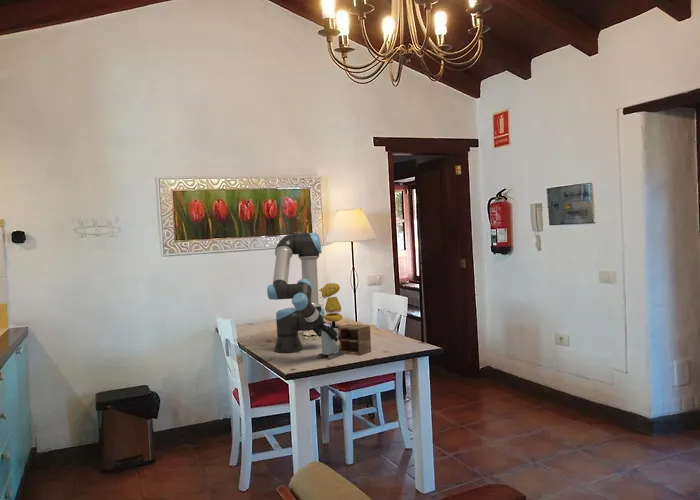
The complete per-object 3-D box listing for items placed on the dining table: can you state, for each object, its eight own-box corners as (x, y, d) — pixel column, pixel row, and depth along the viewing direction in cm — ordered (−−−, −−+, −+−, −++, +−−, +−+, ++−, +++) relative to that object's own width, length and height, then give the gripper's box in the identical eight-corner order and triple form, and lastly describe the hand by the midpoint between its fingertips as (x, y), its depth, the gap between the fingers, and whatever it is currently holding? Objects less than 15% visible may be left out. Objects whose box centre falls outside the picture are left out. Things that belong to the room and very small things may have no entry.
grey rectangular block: (322, 354, 295) (321, 330, 295) (332, 350, 303) (331, 328, 302) (328, 354, 293) (327, 331, 293) (339, 351, 300) (337, 328, 300)
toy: (318, 329, 380) (315, 284, 379) (321, 326, 392) (319, 282, 391) (341, 329, 378) (339, 283, 377) (344, 325, 391) (341, 282, 389)
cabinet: (318, 358, 296) (316, 331, 295) (345, 348, 315) (344, 323, 315) (344, 361, 286) (342, 333, 285) (371, 351, 305) (369, 325, 305)
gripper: (297, 322, 290) (319, 348, 304) (323, 324, 280) (345, 351, 294) (303, 310, 294) (325, 336, 308) (329, 311, 284) (350, 338, 298)
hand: (334, 343), depth 301 cm, fingers closed on grey rectangular block, 4 cm apart
